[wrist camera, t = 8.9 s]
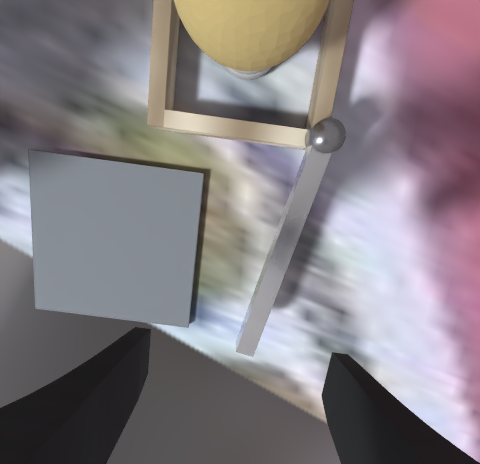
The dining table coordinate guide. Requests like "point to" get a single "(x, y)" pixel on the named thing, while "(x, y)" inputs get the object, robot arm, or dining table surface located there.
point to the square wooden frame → (169, 120)
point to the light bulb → (250, 30)
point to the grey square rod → (290, 228)
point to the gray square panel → (114, 237)
